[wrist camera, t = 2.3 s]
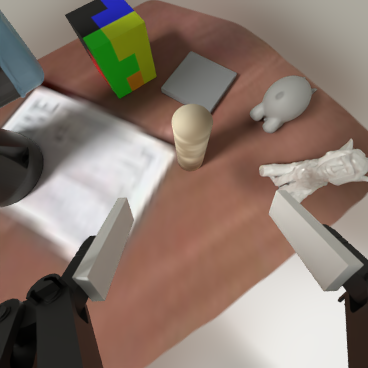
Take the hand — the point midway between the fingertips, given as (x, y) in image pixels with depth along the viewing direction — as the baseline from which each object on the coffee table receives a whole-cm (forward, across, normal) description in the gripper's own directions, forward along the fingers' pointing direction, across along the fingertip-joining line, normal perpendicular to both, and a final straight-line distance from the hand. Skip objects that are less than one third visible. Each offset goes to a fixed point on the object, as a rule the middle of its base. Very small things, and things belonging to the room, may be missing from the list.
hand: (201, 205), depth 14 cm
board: (+30, +3, +10) cm, 32 cm away
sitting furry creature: (+14, +18, -7) cm, 24 cm away
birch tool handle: (+18, 0, -3) cm, 18 cm away
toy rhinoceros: (+24, +18, +3) cm, 30 cm away
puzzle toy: (+33, -14, +13) cm, 38 cm away
